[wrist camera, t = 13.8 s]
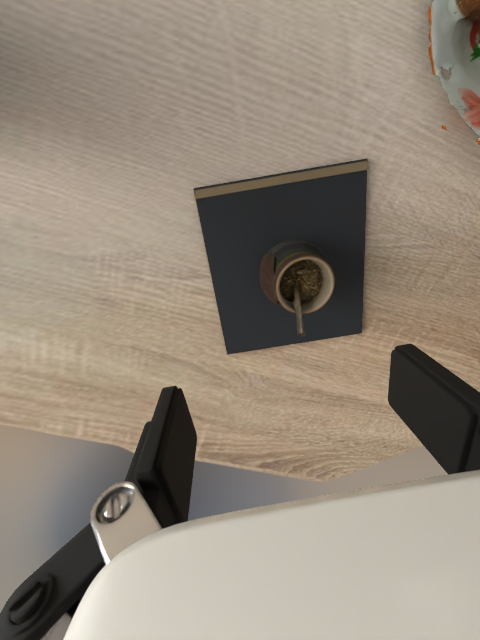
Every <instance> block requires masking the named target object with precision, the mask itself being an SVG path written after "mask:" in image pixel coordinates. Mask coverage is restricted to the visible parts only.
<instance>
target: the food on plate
mask: <svg viewBox="0 0 480 640" xmlns="http://www.w3.org/2000/svg"><path fill="white" fill-rule="evenodd" d="M428 15H429V23H430V25H431V28H430V33H429V40H430V43H431V44H430V47H429V55H430V60H431V65H432V72H433V74H436V75H437V77H438V78H439V80H440V83H441V86H442V87H443V88H444V90H445V91H446V92H447V94H448V99H449V104H451V105H453V106H454V107H455V108H456V109H457V111H458V113H459V114H460V116H461V117H462V118H463V120H464V121H465V122H466V124H467V125H469V126H470V127H471V128H472V129H473V130H474V132H475V133H476V134H478V135H479V136H480V0H433V2H432V4H431V6H430V9H429V11H428ZM441 67H443V68H444V69H446V70H447V71H448V70H449V68H451V75H450V78H449V79H448V80H445V79H443V77H442V75H441V72H440V70H441ZM442 128H443V129H445V130H446V127H444V126H442ZM476 142H477V143H478V144H479V145H480V138H479V139H477V140H476Z"/></svg>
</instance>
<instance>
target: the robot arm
mask: <svg viewBox="0 0 480 640" xmlns="http://www.w3.org/2000/svg"><path fill="white" fill-rule="evenodd" d="M388 401H389V404H390V406H391V407H392V408H393V410H394V411H395V412H396V413H397V414H398V415H399V417H400V418H401V419H402V420H403V421H404V423H405V424H406V425H407V426H408V427H409V428H410V430H411V431H412V432H413V433H414V434H415V436H416V437H417V438H418V439H419V440H420V441H421V443H422V444H423V445H424V446H425V447H426V449H427V450H428V451H429V452H430V453H431V454H432V455H433V457H434V458H435V459H436V460H437V462H438V463H439V464H440V465H441V466H442V467H443V469H444V470H445V471H446V472H447V473H448V474H449V475H443V476H437V477H431V478H425V479H419V480H413V481H407V482H401V483H395V484H389V485H383V486H377V487H371V488H366V489H360V490H353V491H348V492H343V493H336V494H330V495H324V496H319V497H313V498H307V499H301V500H296V501H290V502H285V503H279V504H273V505H268V506H263V507H257V508H251V509H245V510H240V511H235V512H230V513H225V514H220V515H214V516H209V517H204V518H199V519H195V520H191V521H188V512H189V504H190V496H191V487H192V486H191V485H192V478H193V469H194V461H195V452H196V443H197V435H196V431H195V428H194V425H193V422H192V418H191V415H190V412H189V409H188V406H187V403H186V400H185V397H184V394H183V391H182V389H181V388H179V389H178V388H177V386H171V387H166V388H163V389H162V391H161V394H160V397H159V400H158V403H157V406H156V409H155V412H154V415H153V418H152V421H150V422H147V423H146V424H145V426H144V429H143V432H142V435H141V437H140V440H139V443H138V446H137V448H136V451H135V454H134V457H133V459H132V462H131V465H130V468H129V471H128V474H127V476H126V479H125V482H120V483H117V484H114V485H113V486H111V487H110V488H108V489H107V490H106V491H105V492H103V493H102V494H101V495H100V497H99V498H98V499H97V500H96V502H95V504H94V506H93V508H92V510H91V514H90V523H89V524H88V525H87V526H86V527H85V528H84V529H83V530H81V531H80V532H79V533H78V534H77V535H76V536H75V537H74V538H72V540H70V541H69V542H68V543H67V544H66V545H65V546H63V547H62V548H61V549H60V550H59V551H58V552H57V553H56V554H54V555H53V556H52V557H51V558H50V559H49V560H48V561H46V562H45V563H44V564H43V565H42V566H41V567H40V568H39V569H37V570H36V571H35V572H34V573H33V574H32V575H31V576H30V577H28V578H27V579H26V580H25V581H24V582H23V583H22V584H21V585H20V586H19V587H18V588H17V589H16V590H15V592H14V593H13V594H12V596H11V597H10V598H9V599H8V601H7V602H6V604H5V606H4V608H3V610H2V611H1V613H0V640H480V392H478V391H477V390H475V389H474V388H473V387H471V386H470V385H468V384H467V383H466V382H464V381H463V380H462V379H460V378H459V377H457V376H456V375H455V374H453V373H452V372H450V371H449V370H448V369H446V368H445V367H443V366H442V365H441V364H439V363H438V362H436V361H435V360H434V359H432V358H431V357H429V356H428V355H427V354H425V353H424V352H423V351H421V350H420V349H418V348H417V347H416V346H414V345H412V344H406V345H400V346H396V347H395V350H393V351H392V353H391V365H390V378H389V391H388Z"/></svg>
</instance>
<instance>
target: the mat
mask: <svg viewBox="0 0 480 640" xmlns="http://www.w3.org/2000/svg"><path fill="white" fill-rule="evenodd" d="M367 170H368V161H367V159H362V160H356V161H350V162H345V163H339V164H333V165H327V166H321V167H316V168H310V169H304V170H298V171H292V172H287V173H281V174H275V175H269V176H263V177H258V178H252V179H246V180H240V181H234V182H229V183H223V184H217V185H211V186H205V187H200V188H194V193H195V198H196V202H197V207H198V212H199V217H200V222H201V227H202V232H203V237H204V242H205V247H206V252H207V257H208V262H209V267H210V271H211V276H212V281H213V286H214V291H215V296H216V301H217V306H218V311H219V316H220V321H221V326H222V331H223V336H224V340H225V345H226V350H227V354H233V353H239V352H246V351H252V350H258V349H265V348H271V347H277V346H283V345H290V344H296V343H302V342H309V341H315V340H321V339H328V338H334V337H340V336H346V335H353V334H359V333H362V312H363V281H364V251H365V220H366V190H367ZM291 239H301V240H306V241H309V242H311V243H313V244H314V245H316V246H317V247H318V248H319V249H320V250H321V251H322V252H323V254H324V255H325V257H326V259H327V262H328V263H329V264H330V266H331V267H332V269H333V271H334V274H335V279H336V281H337V282H336V284H335V285H334V289H335V290H334V293H333V295H332V297H331V298H330V300H329V301H328V302H327V304H326V305H325V306H324V307H322V308H321V309H320V310H318V311H316V312H313V313H310V314H304V315H302V318H303V323H304V331H305V336H298V331H297V317H296V314H294V313H291V312H289V311H287V310H285V309H284V308H283V307H282V306H281V305H279V304H275V303H273V302H272V301H271V300H270V299H268V297H267V296H266V295H265V293H264V292H263V289H262V288H261V285H260V279H259V278H260V263H261V260H262V259H263V256H264V255H265V254H266V253H268V252H269V251H270V249H272V248H273V247H274V246H275V245H277V244H278V243H281V242H283V241H286V240H291Z"/></svg>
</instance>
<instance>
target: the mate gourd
mask: <svg viewBox="0 0 480 640" xmlns="http://www.w3.org/2000/svg"><path fill="white" fill-rule="evenodd" d="M259 279H260V285H261V288H262V289H263V292H264V293H265V295H266V296H267V297H268V299H270V300H271V301H272V302H273V303H275V304H279V305H281V306H282V307H283V308H284V309H285V310H287V311H289V312H291V313H294V314H296V317H297V331H298V336H305V331H304V323H303V318H302V315H304V314H310V313H313V312H316V311H318V310H320V309H321V308H322V307H324V306H325V305H326V304H327V302H328V301H329V300H330V298H331V297H332V295H333V293H334V290H335V289H334V285H335V284H336V282H337V281H336V279H335V274H334V271H333V269H332V267H331V266H330V264H329V263H328V262H327V259H326V257H325V255H324V254H323V252H322V251H321V250H320V249H319V248H318V247H317V246H316V245H314V244H313V243H311V242H309V241H306V240H301V239H291V240H286V241H283V242H281V243H278V244H277V245H275V246H274V247H273V248H272V249H270V251H269V252H268V253H266V254H265V255H264V256H263V259H262V260H261V263H260V278H259Z"/></svg>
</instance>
